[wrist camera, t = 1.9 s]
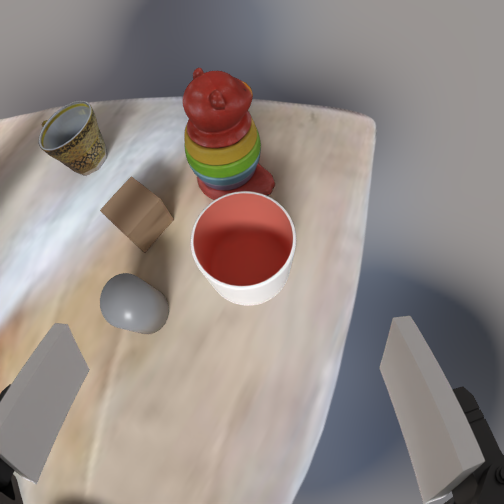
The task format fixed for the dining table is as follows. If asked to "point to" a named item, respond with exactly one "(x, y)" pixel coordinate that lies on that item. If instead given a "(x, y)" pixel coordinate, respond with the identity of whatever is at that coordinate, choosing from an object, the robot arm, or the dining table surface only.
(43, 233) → the dining table surface
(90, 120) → the ceramic cup
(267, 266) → the cup
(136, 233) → the walnut block
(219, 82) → the stacking bear
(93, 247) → the dining table surface
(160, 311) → the grey rounded cylinder
